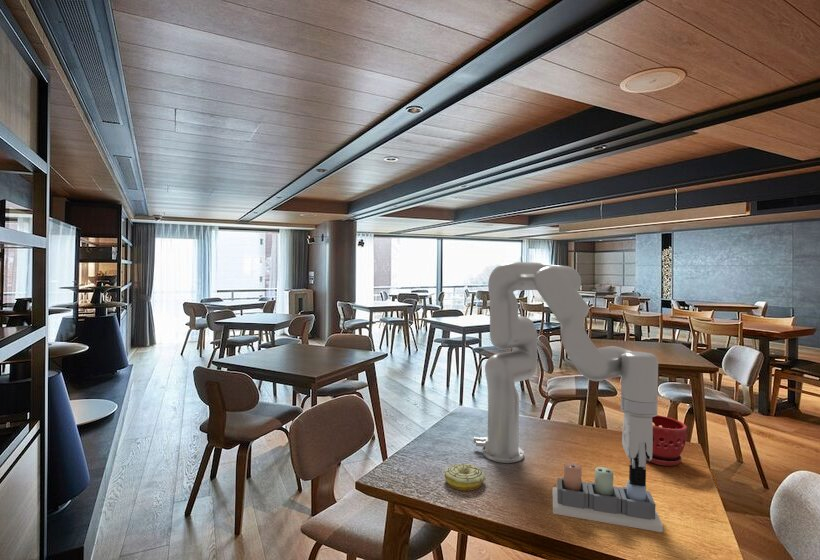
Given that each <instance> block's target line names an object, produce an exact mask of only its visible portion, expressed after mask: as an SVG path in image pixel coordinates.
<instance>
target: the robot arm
mask: <svg viewBox="0 0 820 560" xmlns="http://www.w3.org/2000/svg"><path fill="white" fill-rule="evenodd" d="M487 282H488V283H487V284H488V285H487V286H488V287H487V288H488V295H489V339H490V341H491V342H490V343H491V345H493V347H495V348H496V349H501V350H502V349H503V350H504V349H505V350H506V349H511V351H505V352H504V351H503V352H498V353H495V354H493V355H491V356H490V357H489V358H488V359H487V361H486V362H485V365H484V373H485V378H486V384H487V435H486V436H484V437H480V436H473V440H472V441H473V444H475V446H476V447H482V449H481V452H482V455H483V456H484V457H485V458H487V459H488V460H490V461H494V462H497V463H503V464H511V463H518V462H520V461H522V460H523V459H524V457H525V453H524V450H523V449H522V448H521V447H520V445H519V444H520V439H519V438H520V397H519V395H520V394H519V392H518V390H517V387H516V385H515V384H516V383H518V382H522V381H527V380H530V379H531V378H532V377H534V376H535V374H536V372H537V368H538V332H537V331H538V330H537V328H536V326H535V323H534V322H533V320H531V319H530V318H529V317H526V316H523V315H521V316H520V315H519V303H518V299H517V296H516V295H515V293H514V292H516V291H537V292H538V294H539V295H540V297H541V298H542V299H543V301H544V302H545V304H546V305H547V307H548V308H549V310H550V311H551V312H552V314H553V316H554V317H555V318H556V320H557V321H558V322H559V325H560V337H561V341H562V342H561V343H562V345H563V346H562V347H563V349H564V351H565V353H566V355H567V356H568V358H569V359H570V361H571V362H572V364H573V365H574V367H575V368H576V369H577V371H578V372H579V373H580V374H581V376H583V377H584V378H586V379H587V380H590V381H593V382H600V381H605V380H609V379H612V378H614V379H615V378H620V379H621V381H620V411H621V412H622V413H623V417H622V418H623V420H622V433H621V434H622V436H621V445H622V448H623V451H624V452H625V455H626V457H627V458H628V459H629V465H628V468H629V471H628V472H629V474H628V476H629V477H628V481H630V483H631V484H632V485H639V486H646V487H647V485H646V484H647V482H646V481H647V462H649V461H650V460H651V459H652V451H653V428H652V427H653V426H652V425H653V422H652V417H655V416H657V415H658V398H659V397H658V395H659V394H658V393H659V392H658V390H659V389H658V388H659V359H658V358H657V356H656V355H655V354H653V353H650V352H645V351H635V350H630V349H626V348H624V347H620V346H616V345H610V346H602V347H596V346H595V344H594V343H593V341H592V340H591V338H590V337H589V335H588V333H587V331H586V328H585V324H584V323H585V318H586V317H587V316H588V314H589V311H590V307H589V305H588V303H587V302H586V301H585V299H584V298H583V297H582V296H581V294H580V293H579V292H578V291H580V289H581V286H582V278H581V275H580V273H579V271H577V270H576V269H575V268H573V267H572V266H568V265H559V264H557V265H556V264H550V263H542V262H534V261H533V262H531V261H530V262H528V261H527V262H524V261H511V262H509V261H508V262H504V263H501V264H499V265H497V266H496V267H495V268H494V269H493V270H492V271H491V273H490V274H489V278H488V281H487ZM646 458H647V460H648V461H647V460H646Z"/></svg>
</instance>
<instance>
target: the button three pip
mask: <svg viewBox="0 0 820 560" xmlns="http://www.w3.org/2000/svg"><path fill="white" fill-rule="evenodd" d="M626 487H627V499H632V500H638V501H644V502H646V491H647V485H646V486H639V485H632V484H631V483H630V481H629V480H627V481H626Z"/></svg>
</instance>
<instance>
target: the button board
mask: <svg viewBox="0 0 820 560" xmlns="http://www.w3.org/2000/svg"><path fill="white" fill-rule="evenodd" d="M556 481H557V485H556V486H552V514H553V515H559V516H565V517H571V518H576V519H583V520H589V521H595V522H600V523H607V524H612V525H617V526H623V527H631V528H634V529H635V528H636V529H640V530H647V531H652V532H658V533H664V525H663V522H662V520H661V518H660V516H659V513H658V511H657V509H656V502H655V500H654V498H653V496H652V494H651V491H648V490H646V502H644V501H638V500H632V499H627V486H615V485H613V495H611V496H606V495H600V494H598V493H596V492H595V481H592V482H587V481H583V480H581V490H579V491H574V490H568V489H566V488H565V487H564V477H561V478H560V477H557V480H556Z"/></svg>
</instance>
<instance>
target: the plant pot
mask: <svg viewBox="0 0 820 560" xmlns="http://www.w3.org/2000/svg"><path fill="white" fill-rule="evenodd" d="M653 424H654V425H653ZM652 426H653V427H652V428H653V451H652V459H651V460H650V461H648V460H647V458H646V462H649V463H652V464H655V465H659V466H676V465H679V464H680V463H681V462H682V457H681V454H682V452H683V450H684V449H685V445H686V442H687V437H688V436H687V434H688V426H687V425H686V424H685V423H684V422H682V421H680V420H677V419H675V418H672V417H667V416H664V415H658V414H657V416H655V417H652ZM660 426H661V427H660Z"/></svg>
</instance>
